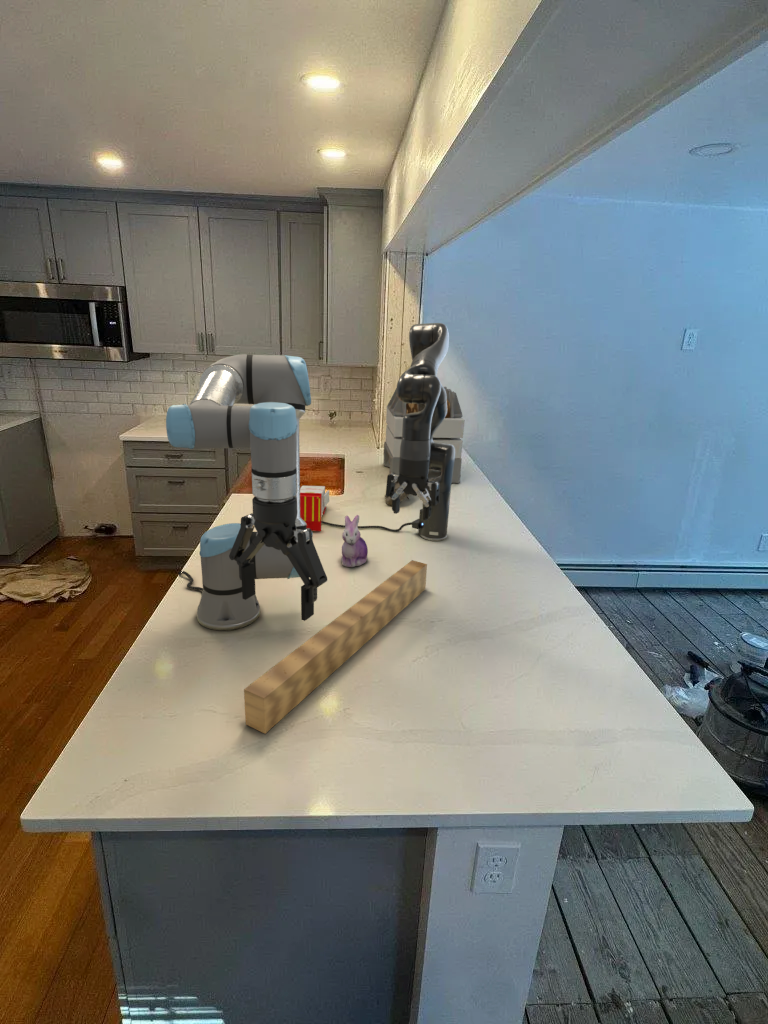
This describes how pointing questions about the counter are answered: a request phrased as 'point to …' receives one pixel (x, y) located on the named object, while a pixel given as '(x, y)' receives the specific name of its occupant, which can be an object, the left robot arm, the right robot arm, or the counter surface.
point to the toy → (313, 505)
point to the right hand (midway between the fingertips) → (410, 516)
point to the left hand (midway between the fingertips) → (277, 606)
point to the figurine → (353, 544)
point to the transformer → (444, 434)
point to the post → (329, 648)
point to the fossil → (397, 485)
